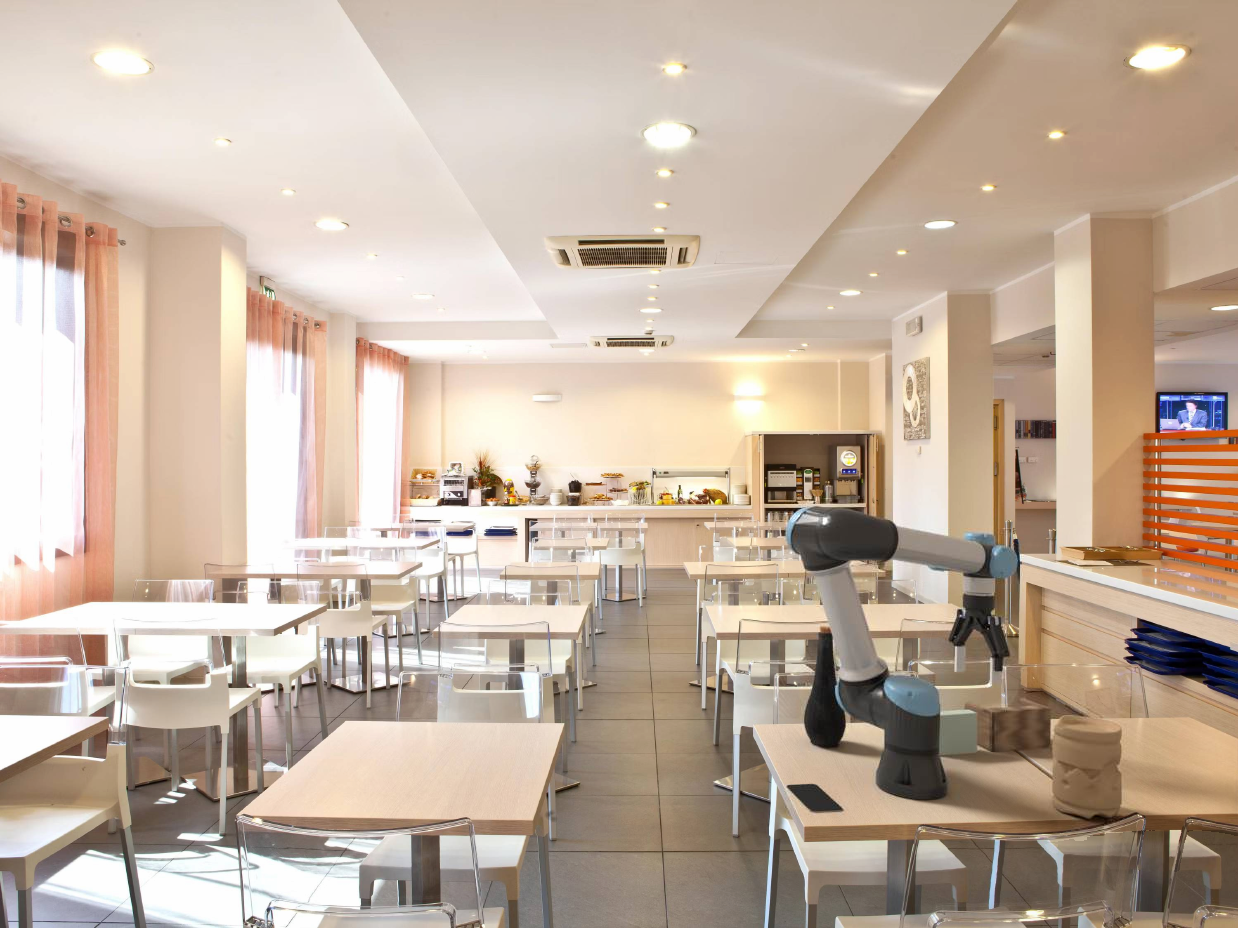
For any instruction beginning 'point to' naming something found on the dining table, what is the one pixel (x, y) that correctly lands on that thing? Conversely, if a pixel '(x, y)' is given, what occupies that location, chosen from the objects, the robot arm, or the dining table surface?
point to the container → (1086, 766)
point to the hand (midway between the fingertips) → (977, 677)
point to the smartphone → (814, 798)
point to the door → (958, 732)
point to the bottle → (824, 698)
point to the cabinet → (1013, 726)
